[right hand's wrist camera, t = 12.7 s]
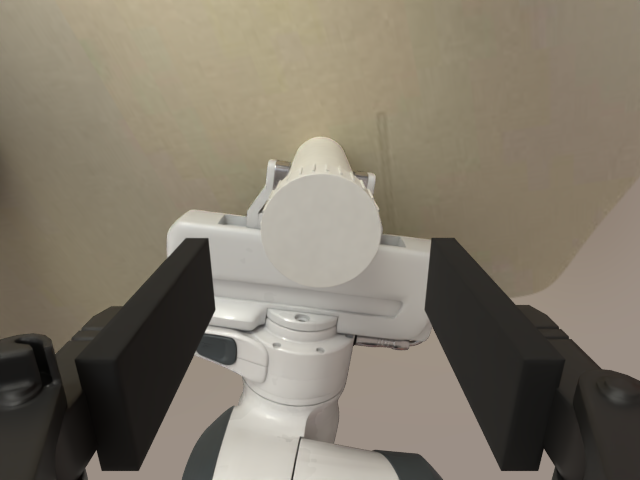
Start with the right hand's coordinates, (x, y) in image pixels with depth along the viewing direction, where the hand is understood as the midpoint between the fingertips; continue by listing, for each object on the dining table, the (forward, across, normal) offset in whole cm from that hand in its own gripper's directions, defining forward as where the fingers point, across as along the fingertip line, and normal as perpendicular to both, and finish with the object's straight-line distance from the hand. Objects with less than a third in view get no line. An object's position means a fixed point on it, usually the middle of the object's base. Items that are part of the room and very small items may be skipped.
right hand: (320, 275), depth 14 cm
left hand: (+15, 0, -1) cm, 15 cm away
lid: (+4, 0, 0) cm, 4 cm away
